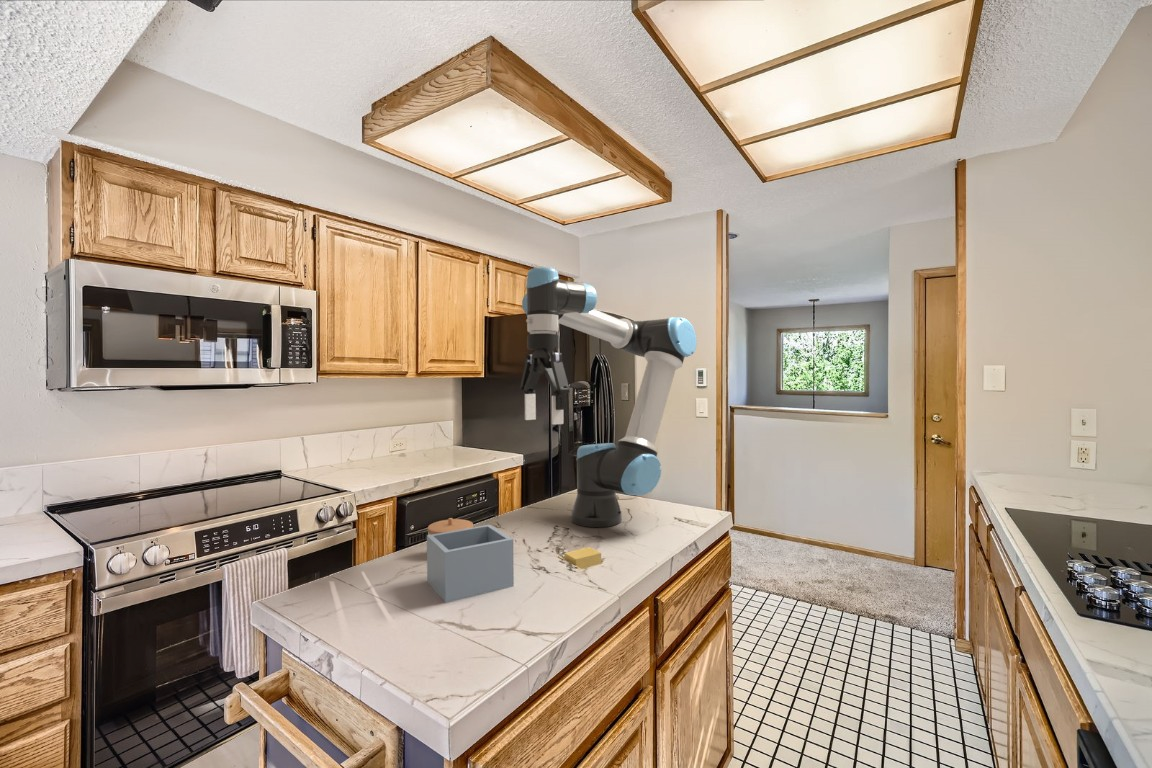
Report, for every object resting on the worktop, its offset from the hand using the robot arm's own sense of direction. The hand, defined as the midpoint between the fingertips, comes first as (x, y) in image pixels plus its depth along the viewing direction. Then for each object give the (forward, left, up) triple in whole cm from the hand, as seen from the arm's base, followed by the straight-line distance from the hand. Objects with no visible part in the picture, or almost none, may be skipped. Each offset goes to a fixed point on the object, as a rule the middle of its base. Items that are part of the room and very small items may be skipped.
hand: (543, 421), depth 123 cm
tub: (+22, +9, -33) cm, 40 cm away
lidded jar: (+19, -12, -33) cm, 40 cm away
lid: (+1, +9, -33) cm, 34 cm away
